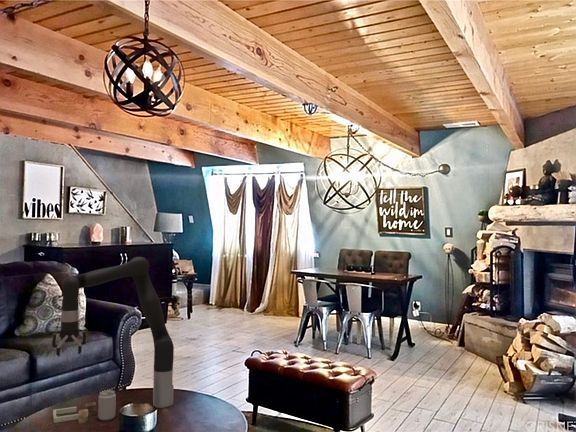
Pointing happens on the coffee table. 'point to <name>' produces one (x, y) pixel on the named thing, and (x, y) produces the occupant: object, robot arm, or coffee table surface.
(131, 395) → the coffee table surface
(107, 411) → the pale grey jar
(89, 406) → the walnut block
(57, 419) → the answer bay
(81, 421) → the cork cylinder
